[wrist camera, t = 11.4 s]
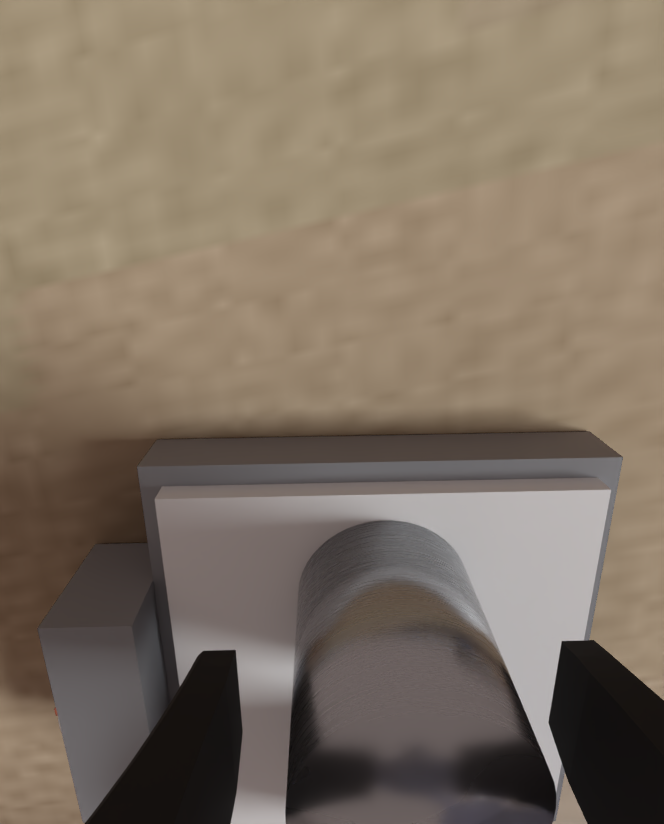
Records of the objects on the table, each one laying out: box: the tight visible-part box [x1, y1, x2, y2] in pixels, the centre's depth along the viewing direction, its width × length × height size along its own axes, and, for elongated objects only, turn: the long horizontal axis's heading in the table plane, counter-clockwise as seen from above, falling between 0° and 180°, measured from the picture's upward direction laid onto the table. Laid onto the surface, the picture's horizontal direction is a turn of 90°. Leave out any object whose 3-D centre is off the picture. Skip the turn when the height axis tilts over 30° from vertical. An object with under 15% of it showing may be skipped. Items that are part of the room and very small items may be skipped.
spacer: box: [285, 520, 556, 824], centre depth 10 cm, size 4×4×5 cm
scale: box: [37, 432, 623, 824], centre depth 14 cm, size 12×13×3 cm
